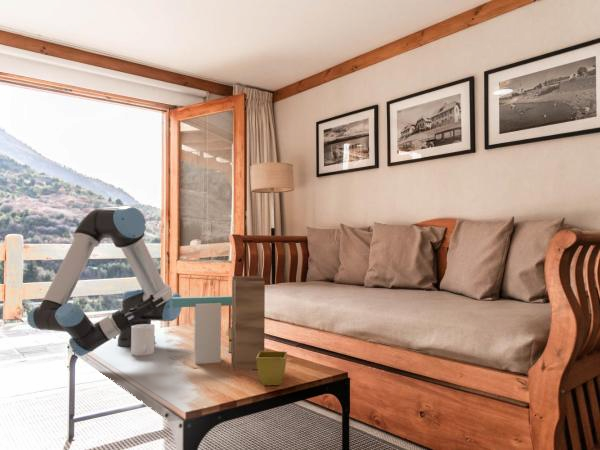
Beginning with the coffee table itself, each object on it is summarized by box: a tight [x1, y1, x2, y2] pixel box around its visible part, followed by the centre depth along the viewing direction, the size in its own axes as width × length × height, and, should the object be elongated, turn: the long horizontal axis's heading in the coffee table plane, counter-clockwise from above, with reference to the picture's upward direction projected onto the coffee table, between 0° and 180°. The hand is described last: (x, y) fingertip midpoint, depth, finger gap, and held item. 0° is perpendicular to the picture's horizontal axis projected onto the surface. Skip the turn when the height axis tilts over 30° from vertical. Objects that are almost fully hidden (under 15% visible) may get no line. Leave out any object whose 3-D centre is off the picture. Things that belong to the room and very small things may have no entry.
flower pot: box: [256, 350, 288, 386], centre depth 144 cm, size 9×9×9 cm
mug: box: [130, 323, 155, 357], centre depth 181 cm, size 9×12×11 cm
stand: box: [230, 275, 266, 372], centre depth 164 cm, size 10×10×31 cm
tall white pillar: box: [193, 303, 222, 365], centre depth 172 cm, size 8×9×21 cm
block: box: [172, 295, 232, 308], centre depth 173 cm, size 3×25×3 cm, turn 105°
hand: (171, 291), depth 169 cm, fingers open, 13 cm apart
